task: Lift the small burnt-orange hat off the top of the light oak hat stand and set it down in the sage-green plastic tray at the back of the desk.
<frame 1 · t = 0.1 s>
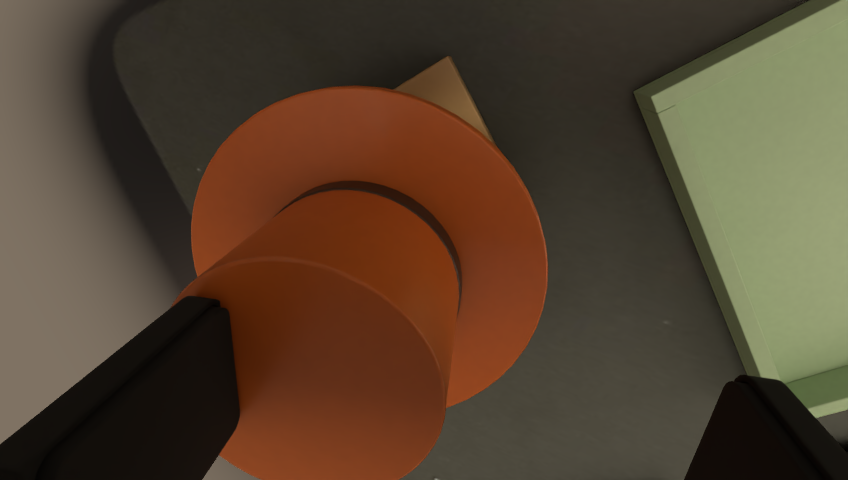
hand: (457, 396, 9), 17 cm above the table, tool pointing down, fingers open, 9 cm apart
small hat: (366, 268, 14), point 11 cm above the table, touching gripper, hat stand
hat stand: (417, 178, 24), on the table
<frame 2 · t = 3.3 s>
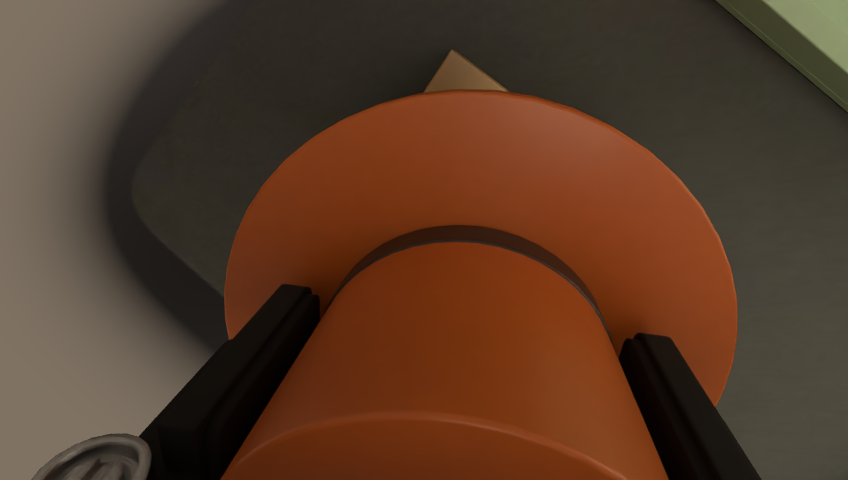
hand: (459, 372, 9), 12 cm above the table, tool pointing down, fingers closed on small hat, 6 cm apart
small hat: (462, 338, 10), point 11 cm above the table, touching gripper, hat stand
hat stand: (475, 198, 21), on the table
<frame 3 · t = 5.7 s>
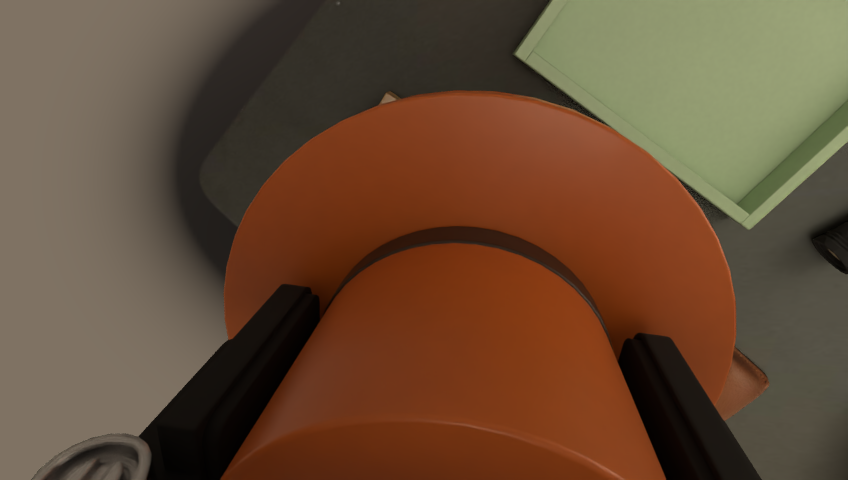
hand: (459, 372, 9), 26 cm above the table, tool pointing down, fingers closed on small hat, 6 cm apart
sunglasses case: (649, 407, 40), on the table
small hat: (462, 339, 10), point 24 cm above the table, touching gripper
tray: (714, 36, 28), on the table
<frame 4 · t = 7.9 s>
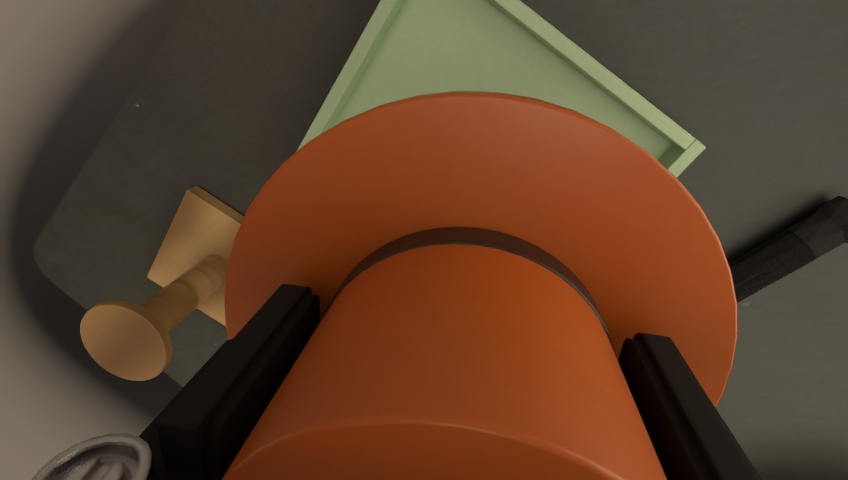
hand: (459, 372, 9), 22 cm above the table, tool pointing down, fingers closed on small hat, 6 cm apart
small hat: (462, 339, 10), point 21 cm above the table, touching gripper
hat stand: (225, 262, 36), on the table
flashlight: (710, 277, 31), on the table
tray: (483, 148, 30), on the table
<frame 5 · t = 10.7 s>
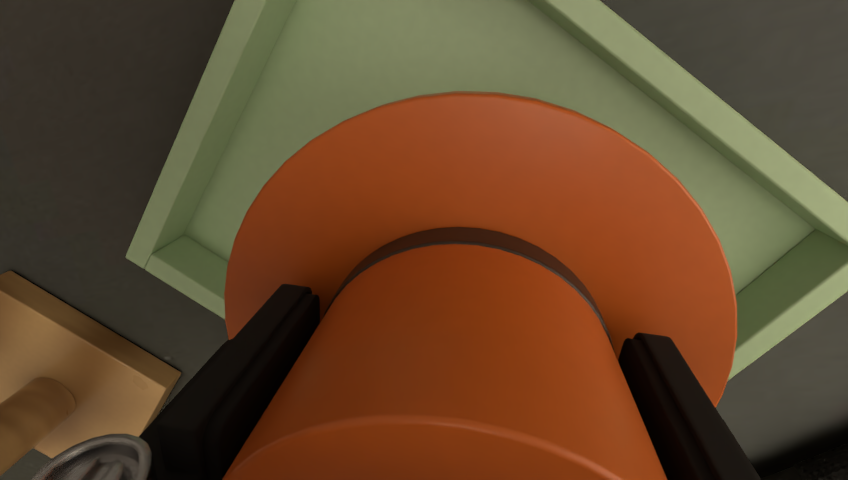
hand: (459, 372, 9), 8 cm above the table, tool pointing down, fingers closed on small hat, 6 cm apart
small hat: (462, 339, 10), point 7 cm above the table, touching gripper
hat stand: (73, 380, 23), on the table
tray: (469, 225, 17), on the table
when the fingers open (2 cm above the table, at t = 12.8 s): small hat stays where it is, resting on tray.
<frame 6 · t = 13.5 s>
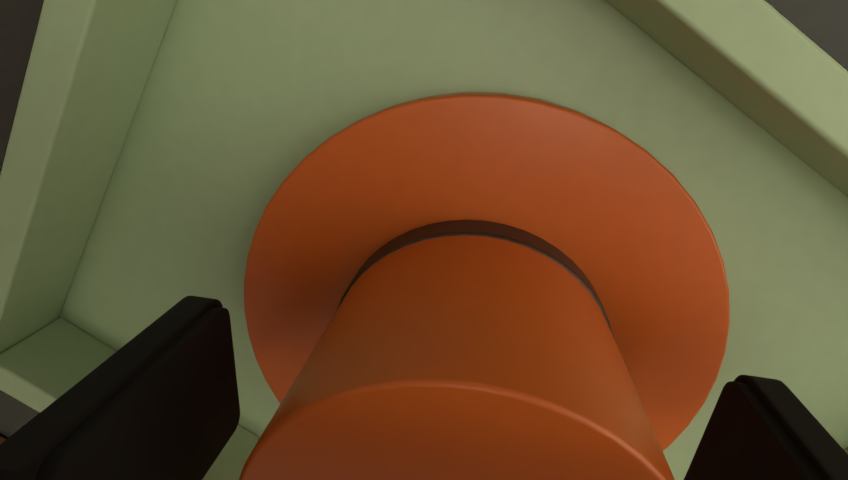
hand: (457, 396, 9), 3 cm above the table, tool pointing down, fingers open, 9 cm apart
small hat: (469, 328, 11), point 1 cm above the table, touching tray
tray: (468, 313, 12), on the table
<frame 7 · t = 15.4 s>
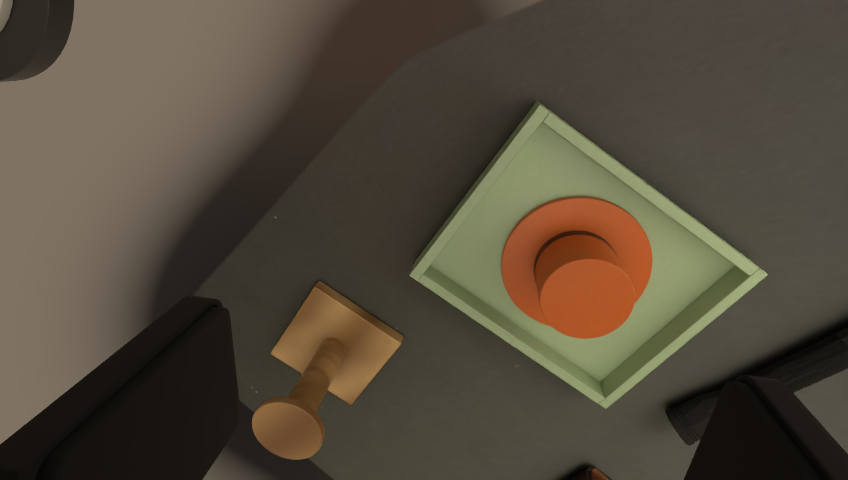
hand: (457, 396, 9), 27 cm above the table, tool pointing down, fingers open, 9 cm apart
small hat: (573, 264, 35), point 1 cm above the table, touching tray
hat stand: (337, 341, 42), on the table
flashlight: (764, 367, 36), on the table
tray: (571, 260, 35), on the table
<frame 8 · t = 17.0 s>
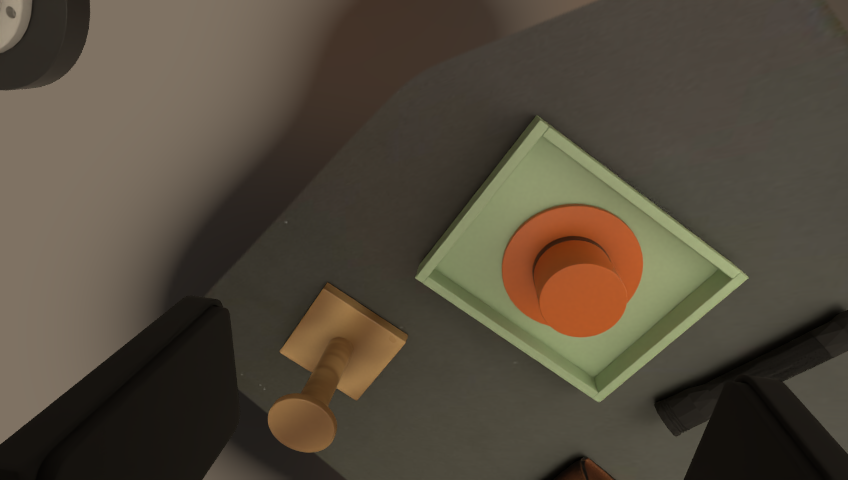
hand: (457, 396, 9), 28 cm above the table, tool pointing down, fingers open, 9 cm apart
small hat: (569, 267, 37), point 1 cm above the table, touching tray
hat stand: (344, 340, 44), on the table
flashlight: (745, 362, 39), on the table
tray: (567, 263, 38), on the table
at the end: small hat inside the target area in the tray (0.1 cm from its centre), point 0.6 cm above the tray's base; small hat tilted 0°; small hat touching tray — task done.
